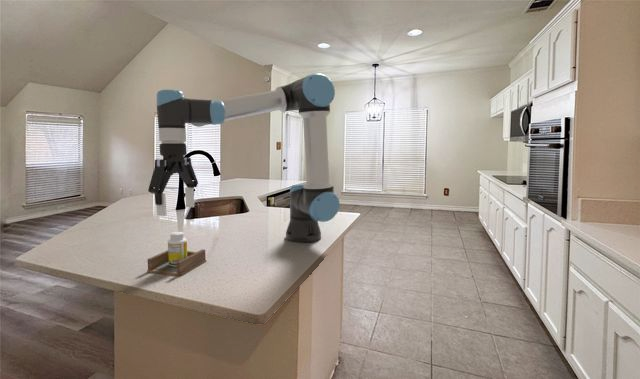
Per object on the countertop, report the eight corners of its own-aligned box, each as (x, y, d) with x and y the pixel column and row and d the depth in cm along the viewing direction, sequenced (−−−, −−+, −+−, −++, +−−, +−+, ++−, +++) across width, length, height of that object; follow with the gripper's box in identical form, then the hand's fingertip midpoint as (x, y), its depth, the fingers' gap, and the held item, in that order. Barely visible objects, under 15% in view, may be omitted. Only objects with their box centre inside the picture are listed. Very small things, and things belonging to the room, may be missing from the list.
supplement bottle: (182, 260, 109) (181, 230, 108) (190, 264, 105) (189, 233, 104) (165, 264, 105) (164, 233, 104) (173, 268, 101) (172, 236, 100)
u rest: (206, 261, 110) (206, 249, 110) (181, 276, 98) (181, 262, 97) (175, 258, 113) (174, 246, 113) (147, 272, 101) (146, 259, 100)
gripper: (187, 142, 113) (190, 203, 116) (130, 142, 89) (136, 218, 92) (206, 142, 112) (209, 204, 114) (153, 142, 87) (159, 220, 90)
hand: (176, 211), depth 103 cm, fingers open, 13 cm apart
